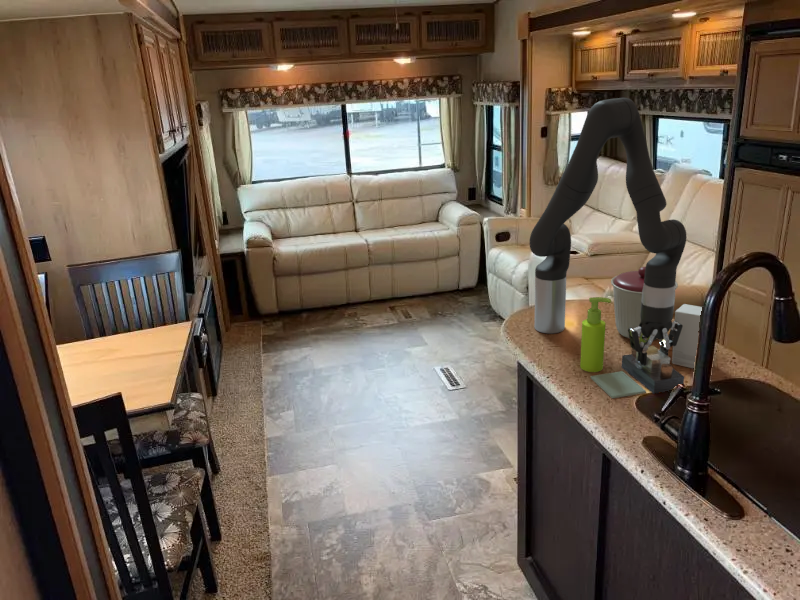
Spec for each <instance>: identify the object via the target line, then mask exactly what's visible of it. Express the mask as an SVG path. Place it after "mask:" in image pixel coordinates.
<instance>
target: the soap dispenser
mask: <svg viewBox="0 0 800 600" xmlns="http://www.w3.org/2000/svg"><path fill="white" fill-rule="evenodd" d="M588 300H589V303H591V304H590V305H591V307H590V308H589V309H587V316H586V317H587V318H586V319H584V320H582V322H581V339H580V340H581V343H580V361H579V362H580V363H579V364H580V365H579V366H580V369H581V370H583V371H585V372H588V373H598V372H601V371H602V370H603V368H604V357H605V355H604V353H605V339H606V338H605V336H606V324H607V323H606V321H605V320H603V319H602V310H601V309H600V308H599V303H612V300H611V298H609V297H603V296H595V297H588Z"/></svg>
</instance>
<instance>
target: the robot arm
mask: <svg viewBox="0 0 800 600" xmlns="http://www.w3.org/2000/svg"><path fill="white" fill-rule="evenodd" d="M645 135H646V134H645V131H644V128H643V124H642V119H641V115H640V111H639V110H638V107H637V104H636V103H635V102H634V101H633V100H632V99H631V98H628V97H619V98H618V97H616V98H610V99H609V98H608V99H603V100H599V101H598V102H595V103H594V104H593V105H592V106H591V108H590V109H589V111H588V112H587V115H586V117H585V120H584V123H583V126H582V128H581V132H580V134H579V137H578V140H577V143H576V145H575V147H574V150H573V152H572V154H571V157H570V159H569V161H568V163H567V166H566V167H565V169H564V171H563V172H562V175H561V177H560V179H559V181H558V183H557V185H556V187H555V190H554V193H553V194H552V196H551V198H550V200H549V202H548V204H547V206H546V208H545V209H544V211H543V213H542V214H541V216H540V217H539V219H538V221H537V223H536V224H535V225H534V227H533V229H532V231H531V232H530V236H529V248H530V251H531V252H532V254H533V255H535V256H537V257H540V258H541V257H542V258H544V257H545V259H544V260H543V261H542V262H540V263H539V264H538V265H536V267H535V271H534V276H535V277H534V329H535V330H536V331H537V332H540V333H543V334H558V333H561V332H563V331H564V330H565V323H566V305H567V304H566V301H567V299H566V297H567V272H568V271H569V267H570V261H571V260H570V259H571V251H572V249H571V248H572V236H571V231H570V229H569V227H568V226H567V225H566V222H567V221H568V220H569V219H571V217H573V216H574V215H575V214H577V213H578V211H579V210H581V209H582V208H583V207H584V206H585V205H586V203H587V202H588V201H589V199H590V197H591V195H592V194H593V192H594V191H595V189H596V186H597V184H598V182H599V170H598V169H599V168H598V163H597V162H598V157H599V155H600V154H601V151H602V149H603V147H604V146H605V144H606V143H607V142H608V141H609V140H610V139H615V138H619V140H620V141H621V143H622V145H623V149H624V150H625V154H626V169H625V183H626V184H625V185H626V190H627V193H628V195H629V198H630V200H631V202H632V205H633V207H634V210H635V212H636V222H637V228H638V236H639V241H640V243H641V245H642V246H643V247H644V249H645V250H646V251H648V252H649V253H652V254H655V255H654V256H653V257H652V258H651V259H650V260H647V262H646V264H645V266H644V267H645V277H644V286H643V290H642V301H641V313H640V317H641V322H640V324H639V327H636V328H634V329H633V328H629V329H628V333H629V338H628V340H629V342H630V343H629V344H630V348H631V349H632V348H633V349H634V350H635V351H637V352H638V359H637V360H638V362H639V363H640V364H641V365H642V366H645V365H646V358H647V349H648V347H649V346H652V343H653V341H656V340H658V342H659V345H660V346H659V350H660V351H661V352H663V353H664V354H666V355H667V356H669V350H670V349H671V347H673V346H676V345H677V342H678V339H679V336H680V333H681V330H682V327H683V325H682V324H680V323H678V322H677V321H675V320H674V321H673V319H674V313H675V300H676V290H675V281H676V282H677V280H676V278H677V270H678V269H677V268H678V266H679V264H680V261H681V258H682V255H683V253H684V250H685V247H686V243H687V230H686V228H685V226H684V224H683V223H682V222H681V221H679V220H677V219H666V220H663V221H662V219H661V212H662V211H663V210H665V209H666V207H667V200H666V198H665V195H664V192H663V189H662V187H661V185H660V183H659V181H658V178H657V176H656V173H655V170H654V168H653V165H652V161H651V156H650V154H649V148H648V145H647V139H646V137H645ZM640 332H642V334H641V336H640ZM639 336H640V338H639ZM646 338H647V340H646ZM639 340H640V342H639Z"/></svg>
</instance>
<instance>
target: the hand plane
mask: <svg viewBox="0 0 800 600" xmlns="http://www.w3.org/2000/svg"><path fill="white" fill-rule="evenodd" d="M639 338H640V337H639ZM646 340H647V338H646ZM639 342H640V340H639ZM673 367H674V366H673V364H662V365H661V372H655V373H650V372H649V371H648V370H646V369H645V368H644V367H642V366H641V365H640V364H639V363H637V362H636V351H635V350H634V349H633V348H631V354H624V355H622V356H621V368H622V369H623V370H624V371H625V372H626V373H628V374H629V375H631V376H632V378H634V380H636V382H637V381H638V383H639V384H641V385H642V386H644V388H646V389H647V390H648V391H649V392H650V393H652V394H653V395H655V393H656V394H660V393H659V392H662V393H666V392H665V391H668V392H670V391H669V390H671V389H673V388H674V387H675V386H677V385H678V384H683V385H684V383H685V376H684V374H681V373H680V371H677V369H675V368H673Z"/></svg>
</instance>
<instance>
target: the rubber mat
mask: <svg viewBox="0 0 800 600" xmlns="http://www.w3.org/2000/svg"><path fill="white" fill-rule="evenodd" d="M590 379H591V380H592V381H593V382H594V383H595V384H596V385H597V386H598V387H599V388H600V389H602V391H604V392H605V393H606V394H607V395H608V396H609V397H610V398H611V399H617V398H622V397H623V398H624V397H631V396H635V395H640V394H641V395H642V394H646V393H647V390H646V389H644V388H643V387H642V386H641V385H640V384H638V383H637V381H635V379H632V378H631V377H630V376H629V375H628V374H626V373H625V372H624V371H623V370H621V371H615V372H613V371H612V372H608V373H602V374H595V375H590Z"/></svg>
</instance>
